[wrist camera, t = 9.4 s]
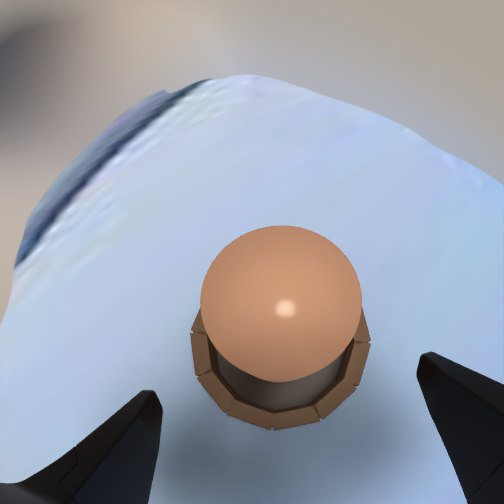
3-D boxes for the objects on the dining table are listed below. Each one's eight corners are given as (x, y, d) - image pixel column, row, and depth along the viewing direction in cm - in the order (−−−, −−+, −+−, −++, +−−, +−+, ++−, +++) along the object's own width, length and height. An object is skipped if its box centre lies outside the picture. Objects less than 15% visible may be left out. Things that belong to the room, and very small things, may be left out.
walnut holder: (371, 298, 20) (384, 284, 17) (327, 439, 16) (335, 448, 13) (236, 257, 22) (230, 238, 20) (182, 388, 18) (166, 387, 16)
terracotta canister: (332, 343, 18) (390, 289, 9) (280, 399, 17) (285, 414, 7) (277, 296, 20) (276, 201, 10) (226, 347, 19) (169, 299, 9)
